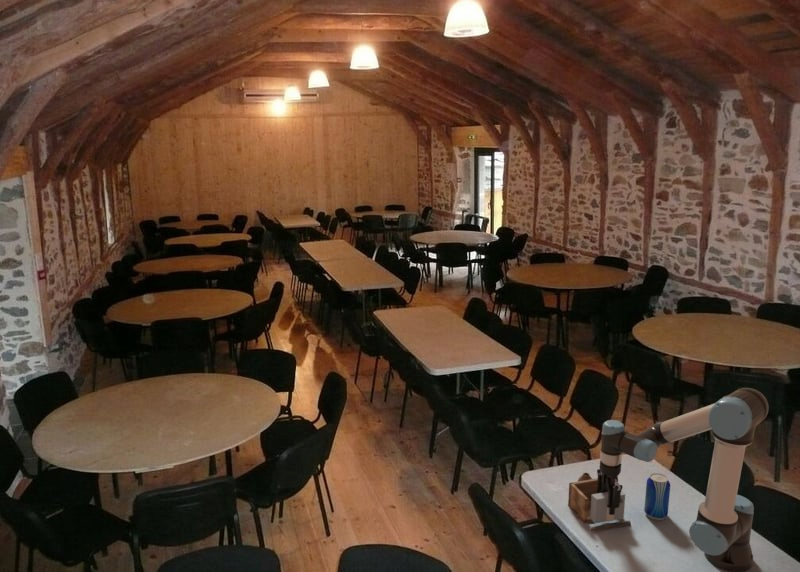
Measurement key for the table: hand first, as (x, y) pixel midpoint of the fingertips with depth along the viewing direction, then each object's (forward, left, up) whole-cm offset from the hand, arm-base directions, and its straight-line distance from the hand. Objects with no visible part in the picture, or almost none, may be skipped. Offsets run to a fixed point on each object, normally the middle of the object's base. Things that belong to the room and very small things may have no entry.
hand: (606, 517), depth 247 cm
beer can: (-1, -21, -3) cm, 21 cm away
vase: (+20, -3, -3) cm, 21 cm away
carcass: (+5, 0, -2) cm, 6 cm away
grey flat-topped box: (0, 0, 0) cm, 0 cm away
